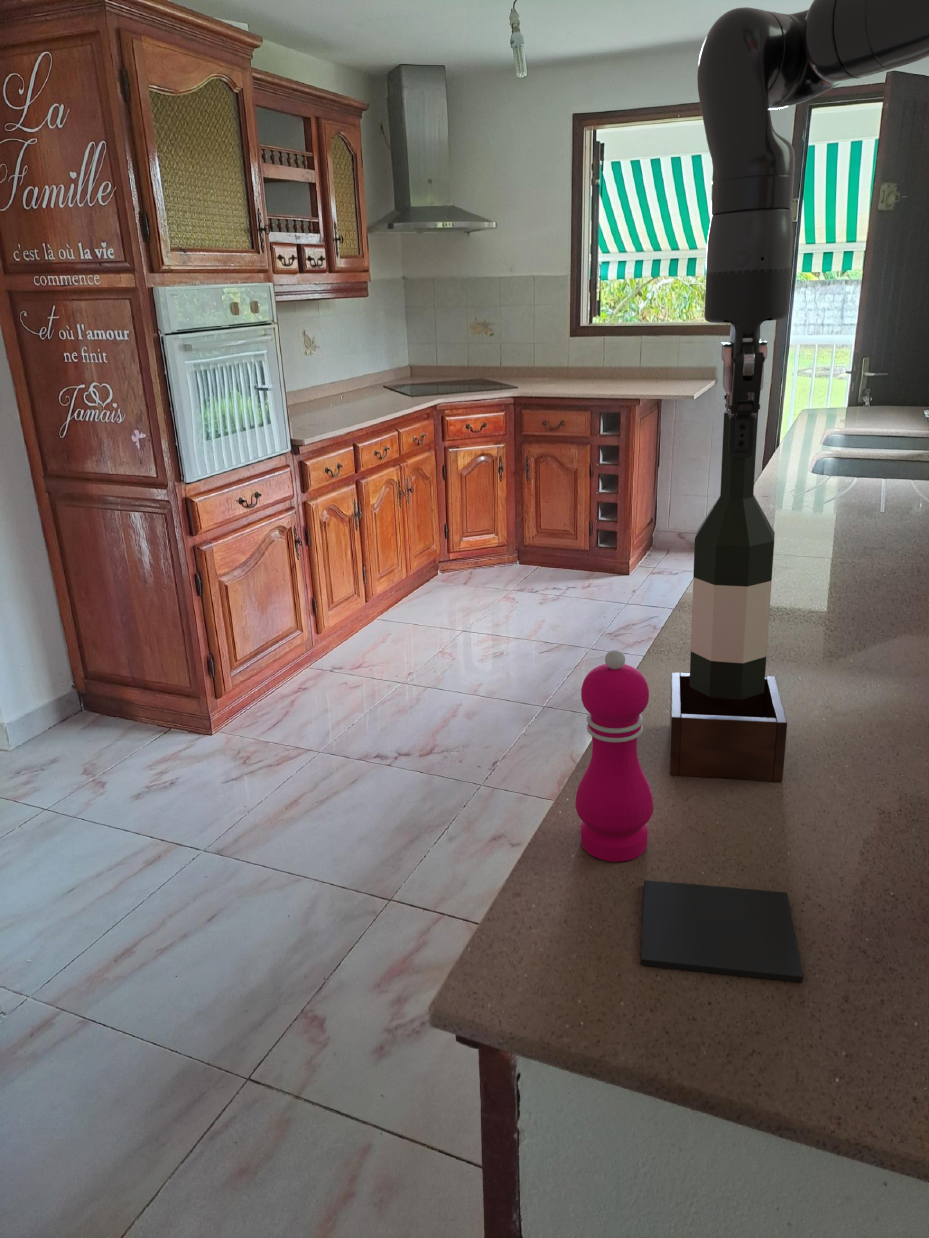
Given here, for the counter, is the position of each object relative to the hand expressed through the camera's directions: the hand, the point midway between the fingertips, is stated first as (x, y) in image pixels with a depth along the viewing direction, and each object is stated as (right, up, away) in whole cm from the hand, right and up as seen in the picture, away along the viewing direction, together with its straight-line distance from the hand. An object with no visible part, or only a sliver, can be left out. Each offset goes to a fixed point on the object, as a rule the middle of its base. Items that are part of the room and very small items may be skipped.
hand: (738, 452), depth 87 cm
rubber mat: (-6, -42, -15) cm, 45 cm away
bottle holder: (+2, -32, +12) cm, 34 cm away
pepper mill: (-13, -38, -3) cm, 40 cm away
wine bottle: (+1, -24, +9) cm, 25 cm away
